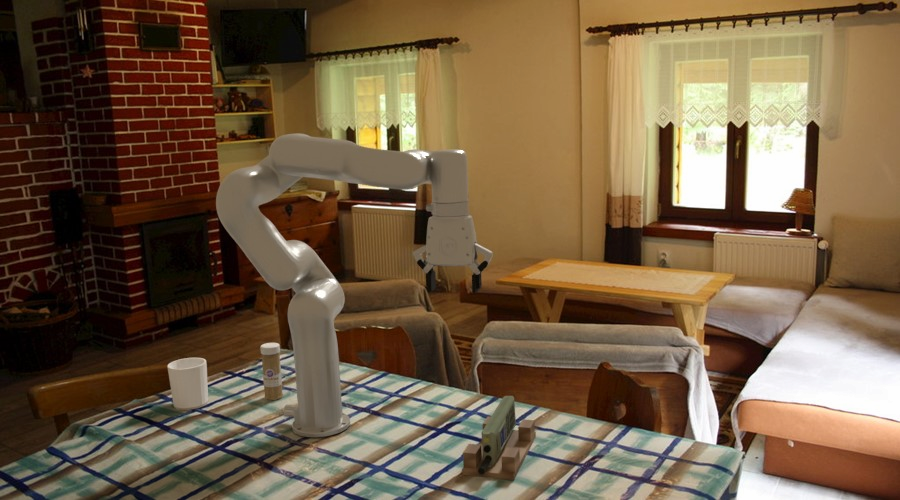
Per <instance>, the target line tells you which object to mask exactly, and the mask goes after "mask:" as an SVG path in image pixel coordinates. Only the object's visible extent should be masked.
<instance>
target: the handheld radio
mask: <svg viewBox="0 0 900 500" xmlns="http://www.w3.org/2000/svg"><path fill="white" fill-rule="evenodd" d="M515 403H516V402H515V397H514V396H513V395H504V396H503V397H502V398H501V400H500V401H499V404H498V405H497V407H496V408H495V410H494V411H493V413H492V414H491V416H490V417H491V418H490V419H489V421H488V423H487V424H486V426H485V427H484V429H483V428H482V431H481V440H482V447H483V462H482V464H481V466H480V467H479V469H478V473H479V474H481V475H482V474H484V473H485V471H486V469H487V467H492V466H493V465H494V464H495V463H496V461H497V459H498V457H499V456H500V454H501V452H502V450H503V448H504V446H505V444H506V442H507V441H508V439H509V437H510V435H511V433H512V431H513V430H514V429H515V427H516V426H517V421H516V405H515Z"/></svg>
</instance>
